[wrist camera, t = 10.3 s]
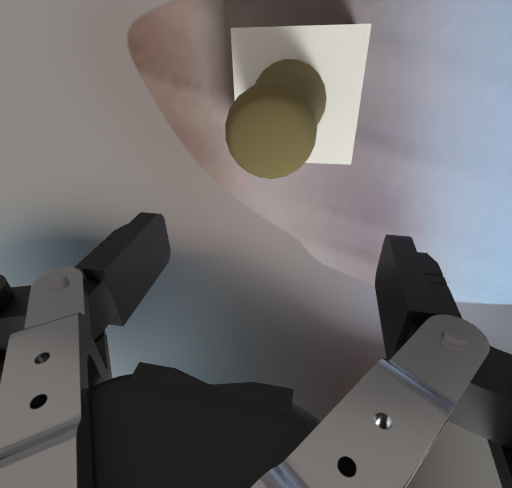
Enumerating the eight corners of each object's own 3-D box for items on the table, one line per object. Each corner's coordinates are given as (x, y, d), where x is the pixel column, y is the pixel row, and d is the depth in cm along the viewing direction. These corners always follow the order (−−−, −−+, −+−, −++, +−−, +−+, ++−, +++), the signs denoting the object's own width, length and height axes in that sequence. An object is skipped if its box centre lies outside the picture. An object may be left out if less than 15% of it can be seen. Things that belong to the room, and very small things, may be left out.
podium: (364, 24, 26) (371, 23, 22) (348, 146, 32) (350, 164, 28) (245, 27, 28) (230, 27, 24) (249, 143, 33) (237, 159, 29)
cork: (313, 147, 27) (305, 205, 18) (245, 130, 28) (205, 179, 19) (337, 69, 24) (341, 93, 15) (259, 50, 24) (217, 63, 15)
